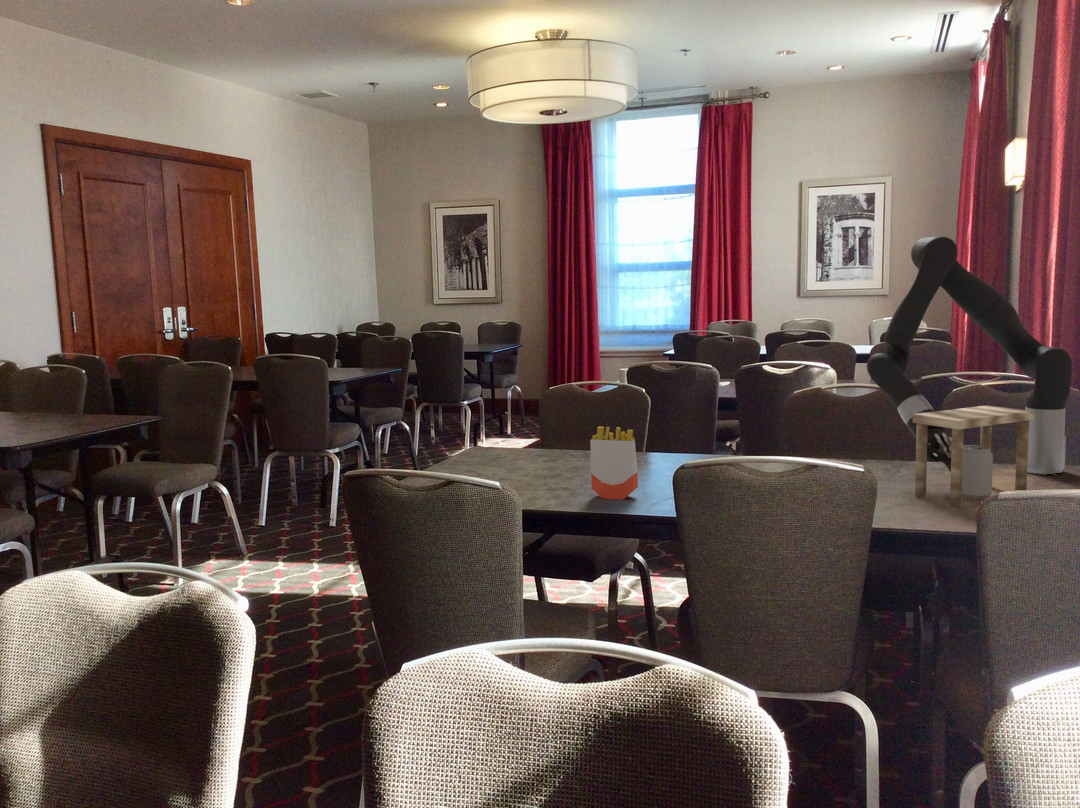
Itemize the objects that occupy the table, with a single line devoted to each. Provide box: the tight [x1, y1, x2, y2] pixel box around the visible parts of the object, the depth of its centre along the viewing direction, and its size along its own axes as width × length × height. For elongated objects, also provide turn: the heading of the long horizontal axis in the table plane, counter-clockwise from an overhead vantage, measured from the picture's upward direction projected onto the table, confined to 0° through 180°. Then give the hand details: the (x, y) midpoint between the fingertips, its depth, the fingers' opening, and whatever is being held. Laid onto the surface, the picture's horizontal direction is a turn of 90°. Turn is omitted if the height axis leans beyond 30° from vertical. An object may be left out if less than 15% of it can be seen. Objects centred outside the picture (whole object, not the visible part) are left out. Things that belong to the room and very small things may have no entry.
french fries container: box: [589, 426, 639, 500], centre depth 220 cm, size 5×11×18 cm, turn 68°
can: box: [962, 444, 994, 500], centre depth 210 cm, size 8×8×12 cm
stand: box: [913, 405, 1034, 508], centre depth 210 cm, size 25×13×20 cm, turn 115°
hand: (958, 472), depth 214 cm, fingers closed
